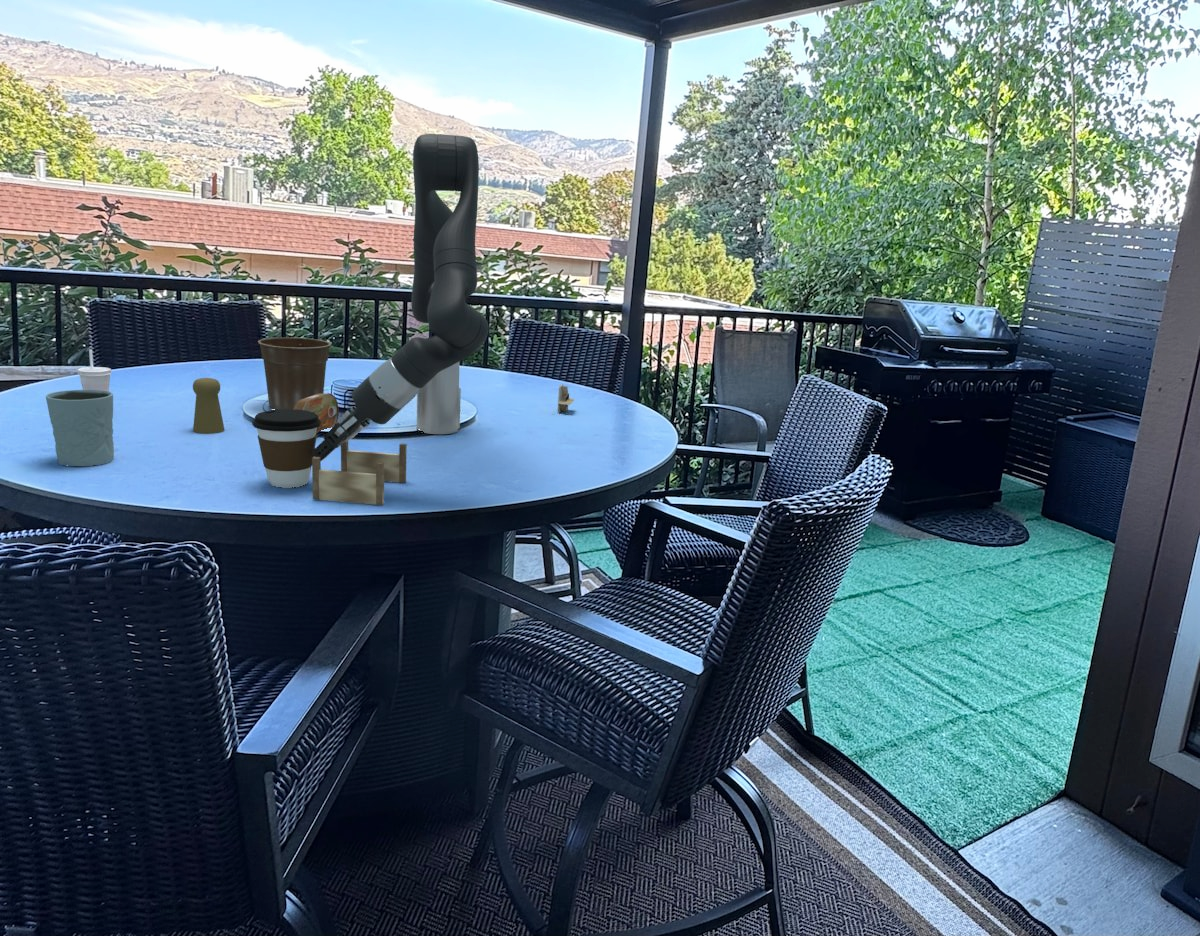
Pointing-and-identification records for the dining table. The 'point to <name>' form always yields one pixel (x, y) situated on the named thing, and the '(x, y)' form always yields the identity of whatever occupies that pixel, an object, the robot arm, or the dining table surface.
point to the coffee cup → (287, 445)
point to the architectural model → (563, 399)
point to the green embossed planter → (82, 426)
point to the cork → (207, 407)
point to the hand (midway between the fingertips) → (316, 456)
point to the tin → (321, 409)
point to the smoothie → (94, 376)
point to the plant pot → (293, 369)
